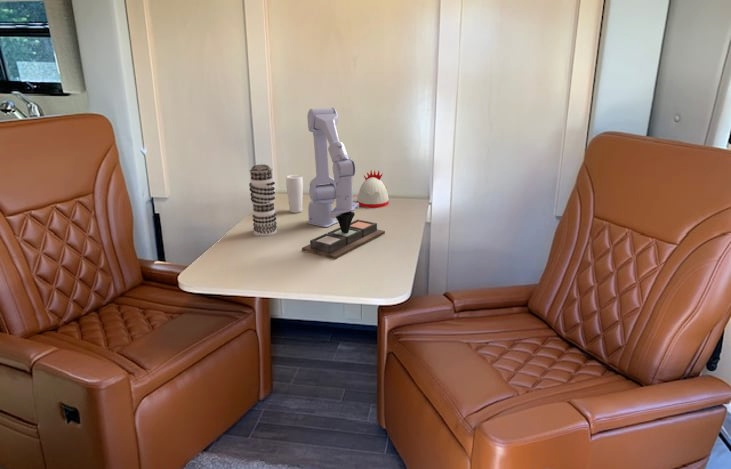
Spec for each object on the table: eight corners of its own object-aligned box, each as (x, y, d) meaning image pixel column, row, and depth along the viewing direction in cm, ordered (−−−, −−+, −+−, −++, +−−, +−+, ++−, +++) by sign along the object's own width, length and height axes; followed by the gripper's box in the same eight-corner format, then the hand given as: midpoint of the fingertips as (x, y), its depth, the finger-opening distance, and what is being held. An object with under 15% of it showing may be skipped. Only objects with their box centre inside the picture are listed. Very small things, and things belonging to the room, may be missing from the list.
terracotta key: (348, 231, 190) (348, 226, 189) (358, 226, 195) (358, 221, 194) (362, 234, 187) (362, 229, 186) (372, 229, 191) (372, 224, 191)
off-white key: (314, 246, 175) (314, 241, 175) (326, 241, 180) (326, 235, 180) (329, 250, 172) (329, 244, 171) (341, 244, 177) (341, 239, 176)
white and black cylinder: (273, 226, 200) (269, 162, 192) (281, 233, 192) (277, 166, 184) (250, 230, 196) (244, 164, 188) (257, 237, 188) (251, 169, 180)
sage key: (332, 238, 183) (332, 233, 182) (343, 233, 188) (343, 228, 187) (347, 242, 179) (347, 236, 178) (357, 236, 184) (357, 231, 183)
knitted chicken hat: (388, 208, 223) (388, 173, 218) (356, 207, 223) (355, 173, 218) (388, 199, 236) (388, 166, 231) (358, 199, 237) (357, 166, 232)
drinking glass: (307, 210, 220) (306, 175, 215) (297, 214, 214) (295, 179, 209) (295, 208, 223) (293, 173, 218) (284, 212, 218) (282, 177, 213)
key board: (302, 250, 176) (301, 240, 175) (353, 226, 199) (353, 217, 198) (334, 259, 168) (334, 248, 167) (384, 233, 192) (384, 223, 190)
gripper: (340, 201, 170) (341, 240, 175) (365, 192, 182) (366, 228, 186) (324, 198, 174) (325, 236, 179) (349, 189, 185) (350, 225, 190)
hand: (345, 232), depth 183 cm, fingers closed, pressing on sage key
